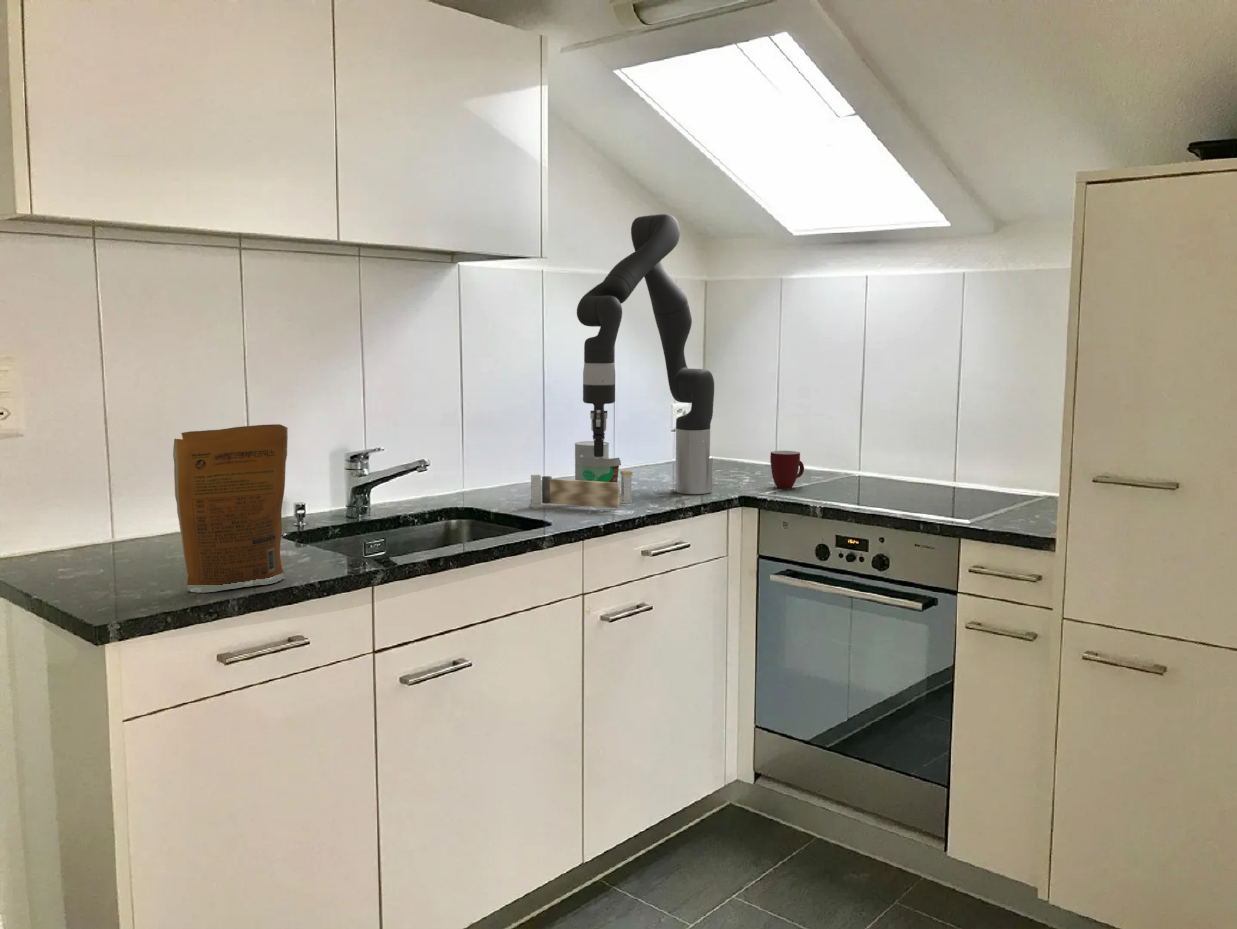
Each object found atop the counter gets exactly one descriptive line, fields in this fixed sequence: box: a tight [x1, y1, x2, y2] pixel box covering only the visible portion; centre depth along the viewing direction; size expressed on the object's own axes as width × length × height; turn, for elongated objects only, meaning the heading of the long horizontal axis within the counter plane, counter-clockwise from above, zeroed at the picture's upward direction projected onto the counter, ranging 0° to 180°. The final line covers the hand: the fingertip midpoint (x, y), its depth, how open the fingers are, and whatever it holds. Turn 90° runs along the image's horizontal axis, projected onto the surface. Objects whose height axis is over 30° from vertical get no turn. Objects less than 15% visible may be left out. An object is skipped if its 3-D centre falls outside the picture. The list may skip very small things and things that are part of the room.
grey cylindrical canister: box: [574, 440, 610, 481], centre depth 278 cm, size 10×10×12 cm
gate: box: [541, 475, 621, 509], centre depth 245 cm, size 20×2×6 cm, turn 70°
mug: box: [769, 450, 805, 490], centre depth 277 cm, size 11×8×10 cm
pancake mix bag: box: [172, 423, 289, 586], centre depth 171 cm, size 7×19×28 cm, turn 123°
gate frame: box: [528, 470, 634, 510], centre depth 251 cm, size 26×4×8 cm, turn 110°
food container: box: [578, 455, 622, 483], centre depth 266 cm, size 12×6×10 cm, turn 62°
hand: (598, 456), depth 235 cm, fingers closed
